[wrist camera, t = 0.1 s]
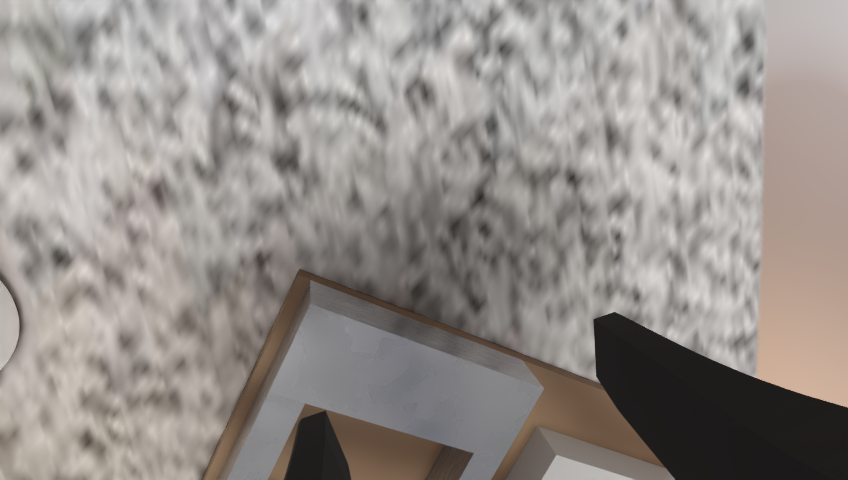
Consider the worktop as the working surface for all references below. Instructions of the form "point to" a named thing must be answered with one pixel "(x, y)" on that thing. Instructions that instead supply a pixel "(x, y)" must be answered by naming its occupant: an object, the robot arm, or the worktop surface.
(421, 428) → the port
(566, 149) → the worktop surface
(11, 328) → the can
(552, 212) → the worktop surface
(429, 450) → the panel board
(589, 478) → the grey rectangular frame
